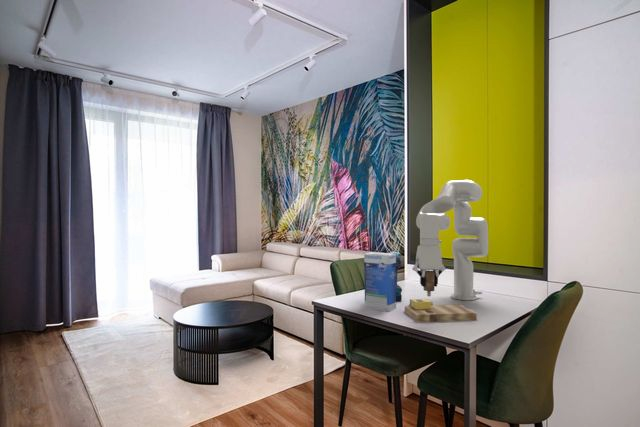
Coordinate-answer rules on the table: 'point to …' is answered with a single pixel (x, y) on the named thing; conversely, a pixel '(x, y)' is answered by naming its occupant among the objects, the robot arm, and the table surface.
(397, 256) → the impact wrench
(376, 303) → the string lights box
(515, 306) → the table surface
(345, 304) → the table surface
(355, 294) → the table surface
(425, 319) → the wooden pallet
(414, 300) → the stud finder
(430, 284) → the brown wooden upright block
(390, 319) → the table surface
